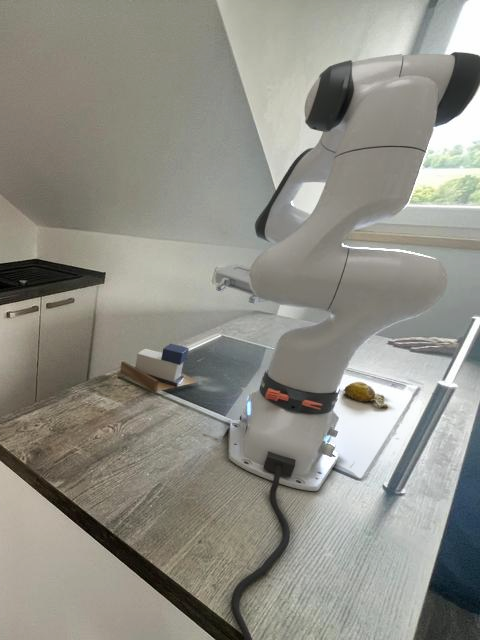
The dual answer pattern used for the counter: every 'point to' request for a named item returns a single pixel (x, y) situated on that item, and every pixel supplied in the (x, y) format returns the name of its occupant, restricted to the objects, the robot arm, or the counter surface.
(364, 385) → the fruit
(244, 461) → the robot arm
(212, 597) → the counter surface
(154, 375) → the white block blue cap
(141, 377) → the shoe shelf
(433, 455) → the counter surface
